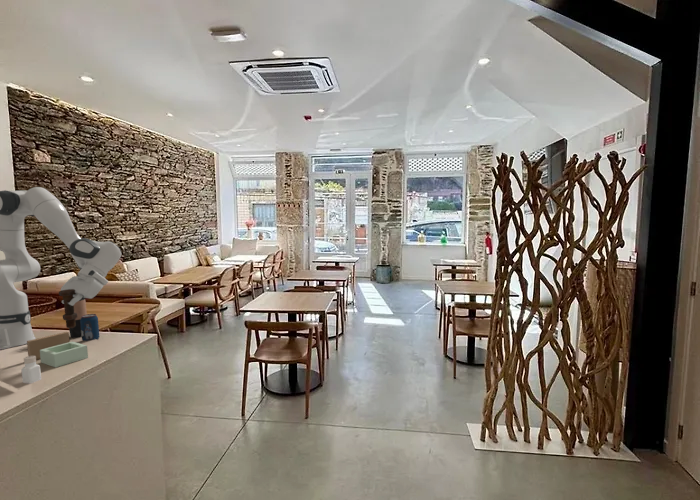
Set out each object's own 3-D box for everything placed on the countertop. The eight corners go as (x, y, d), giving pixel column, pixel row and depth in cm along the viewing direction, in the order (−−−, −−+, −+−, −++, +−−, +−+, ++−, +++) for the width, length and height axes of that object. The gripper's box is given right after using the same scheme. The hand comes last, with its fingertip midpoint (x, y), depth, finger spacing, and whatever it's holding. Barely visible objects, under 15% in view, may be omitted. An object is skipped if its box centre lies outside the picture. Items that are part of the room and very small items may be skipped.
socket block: (88, 357, 161) (87, 345, 161) (55, 367, 151) (54, 354, 151) (73, 353, 167) (72, 341, 167) (40, 362, 157) (39, 349, 157)
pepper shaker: (34, 380, 142) (31, 354, 141) (42, 382, 141) (39, 355, 140) (22, 385, 138) (19, 358, 137) (30, 386, 137) (27, 359, 136)
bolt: (70, 329, 158) (66, 292, 156) (59, 329, 159) (55, 292, 157) (82, 325, 164) (78, 289, 162) (72, 324, 164) (68, 288, 163)
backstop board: (93, 359, 162) (91, 337, 161) (53, 372, 150) (51, 348, 149) (66, 351, 172) (64, 331, 172) (27, 362, 160) (25, 340, 159)
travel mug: (74, 338, 191) (70, 297, 189) (66, 336, 195) (62, 295, 193) (91, 334, 197) (88, 294, 195) (83, 332, 201) (80, 292, 199)
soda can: (95, 337, 192) (93, 312, 191) (102, 339, 188) (100, 314, 187) (79, 341, 187) (77, 316, 185) (85, 344, 183) (83, 318, 181)
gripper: (71, 269, 170) (46, 297, 162) (98, 272, 160) (73, 302, 152) (83, 278, 174) (60, 305, 167) (110, 282, 164) (87, 311, 157)
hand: (66, 304), depth 159 cm, fingers closed on bolt, 3 cm apart
